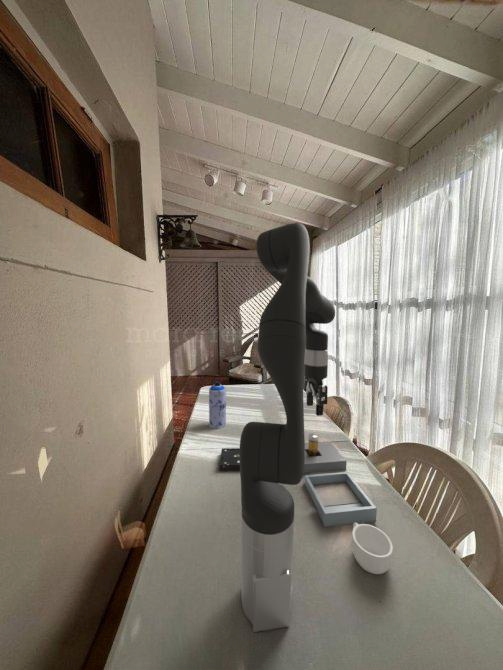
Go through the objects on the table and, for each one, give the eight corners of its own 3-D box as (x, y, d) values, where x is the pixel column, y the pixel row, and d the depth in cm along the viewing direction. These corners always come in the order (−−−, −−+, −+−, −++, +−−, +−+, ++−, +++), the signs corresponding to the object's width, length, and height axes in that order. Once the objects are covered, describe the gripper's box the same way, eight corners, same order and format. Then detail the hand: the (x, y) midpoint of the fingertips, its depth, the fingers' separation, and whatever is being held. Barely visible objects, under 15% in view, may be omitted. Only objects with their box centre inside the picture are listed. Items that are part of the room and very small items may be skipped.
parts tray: (376, 520, 65) (376, 508, 65) (324, 526, 64) (325, 513, 63) (346, 482, 80) (347, 471, 79) (304, 486, 78) (304, 475, 78)
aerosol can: (219, 430, 113) (218, 385, 111) (205, 426, 117) (204, 382, 115) (229, 423, 120) (229, 381, 118) (216, 419, 124) (216, 378, 122)
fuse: (319, 463, 88) (319, 437, 87) (310, 463, 88) (310, 438, 87) (315, 457, 91) (316, 433, 90) (306, 458, 91) (307, 433, 90)
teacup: (400, 577, 52) (402, 552, 51) (366, 586, 50) (368, 560, 50) (367, 534, 62) (368, 513, 61) (338, 541, 60) (339, 519, 59)
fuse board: (346, 472, 85) (346, 460, 84) (292, 476, 82) (292, 465, 82) (329, 452, 97) (330, 441, 96) (282, 455, 94) (282, 445, 94)
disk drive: (219, 473, 85) (264, 472, 85) (218, 465, 85) (264, 463, 85) (221, 455, 95) (261, 454, 96) (221, 448, 95) (261, 447, 95)
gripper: (336, 367, 79) (334, 418, 81) (318, 358, 93) (316, 401, 95) (313, 368, 78) (311, 419, 80) (298, 358, 92) (296, 402, 94)
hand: (314, 410), depth 87 cm, fingers open, 8 cm apart
